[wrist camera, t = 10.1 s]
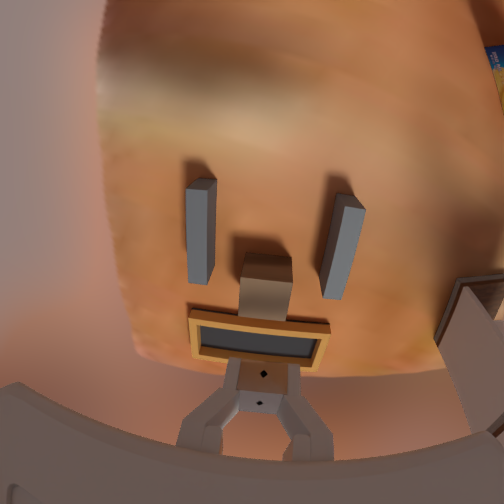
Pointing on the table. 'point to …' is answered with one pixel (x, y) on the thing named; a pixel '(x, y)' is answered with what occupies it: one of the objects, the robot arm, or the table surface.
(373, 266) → the table surface
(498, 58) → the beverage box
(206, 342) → the tray
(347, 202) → the grey parallel walls
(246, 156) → the table surface
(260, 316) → the walnut block
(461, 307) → the grey toy tower
